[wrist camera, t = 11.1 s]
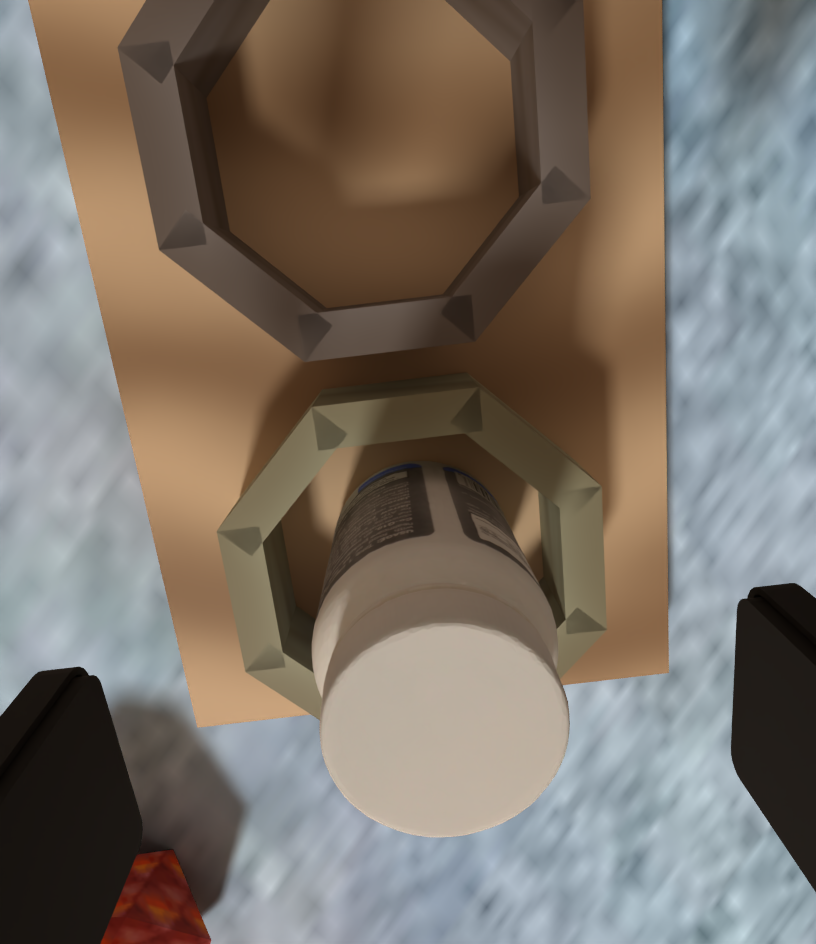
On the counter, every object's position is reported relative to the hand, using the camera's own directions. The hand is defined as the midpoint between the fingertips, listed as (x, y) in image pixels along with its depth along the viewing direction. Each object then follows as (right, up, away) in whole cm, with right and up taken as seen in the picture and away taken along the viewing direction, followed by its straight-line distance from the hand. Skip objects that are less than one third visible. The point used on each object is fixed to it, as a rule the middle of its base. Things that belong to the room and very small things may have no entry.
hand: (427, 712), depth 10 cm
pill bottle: (0, +2, +9) cm, 9 cm away
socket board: (-1, +7, +9) cm, 11 cm away
